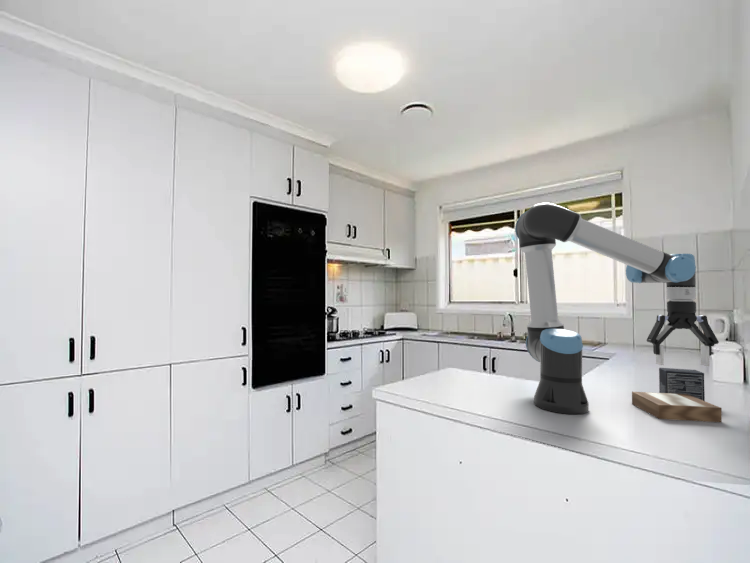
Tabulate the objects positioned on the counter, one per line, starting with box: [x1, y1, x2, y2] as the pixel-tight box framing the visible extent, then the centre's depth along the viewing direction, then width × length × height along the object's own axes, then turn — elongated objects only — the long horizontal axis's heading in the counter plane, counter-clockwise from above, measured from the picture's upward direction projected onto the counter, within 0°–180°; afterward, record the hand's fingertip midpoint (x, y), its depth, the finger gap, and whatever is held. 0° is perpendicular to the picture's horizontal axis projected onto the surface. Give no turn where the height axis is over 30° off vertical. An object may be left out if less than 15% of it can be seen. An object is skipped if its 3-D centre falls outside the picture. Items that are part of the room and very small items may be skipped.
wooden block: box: [631, 391, 723, 423], centre depth 113 cm, size 16×14×4 cm
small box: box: [658, 367, 706, 402], centre depth 125 cm, size 11×6×10 cm, turn 71°
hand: (682, 365), depth 125 cm, fingers open, 13 cm apart
